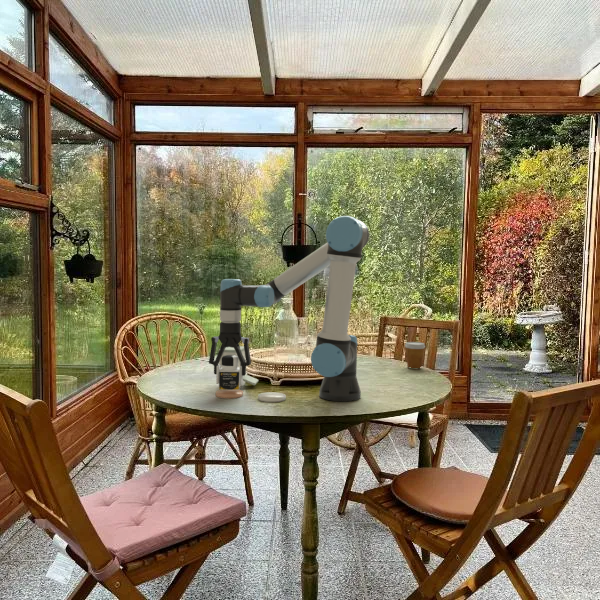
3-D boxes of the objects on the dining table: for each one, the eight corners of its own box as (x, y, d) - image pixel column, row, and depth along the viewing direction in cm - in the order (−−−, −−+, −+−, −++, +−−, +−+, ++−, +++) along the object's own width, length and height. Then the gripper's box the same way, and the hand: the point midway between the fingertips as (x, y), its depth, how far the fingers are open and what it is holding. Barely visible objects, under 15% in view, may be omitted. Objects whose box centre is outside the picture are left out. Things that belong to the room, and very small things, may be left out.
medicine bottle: (219, 390, 199) (219, 357, 198) (220, 386, 206) (220, 354, 205) (239, 390, 199) (239, 357, 199) (239, 386, 207) (240, 354, 206)
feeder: (259, 383, 223) (260, 346, 222) (254, 389, 213) (254, 350, 212) (225, 382, 225) (225, 345, 224) (218, 387, 214) (218, 349, 213)
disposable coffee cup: (420, 366, 270) (421, 341, 269) (427, 370, 260) (428, 344, 260) (401, 366, 268) (402, 341, 268) (407, 370, 259) (408, 344, 258)
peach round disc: (245, 392, 207) (246, 389, 207) (239, 399, 197) (239, 395, 197) (219, 391, 208) (219, 388, 208) (212, 397, 198) (212, 394, 198)
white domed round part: (287, 396, 203) (287, 392, 203) (283, 402, 193) (283, 399, 193) (260, 394, 204) (260, 391, 204) (255, 401, 195) (255, 398, 194)
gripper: (260, 321, 204) (259, 382, 205) (205, 319, 206) (205, 380, 208) (256, 323, 196) (255, 387, 198) (199, 321, 199) (199, 384, 200)
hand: (229, 383), depth 203 cm, fingers closed on medicine bottle, 8 cm apart
